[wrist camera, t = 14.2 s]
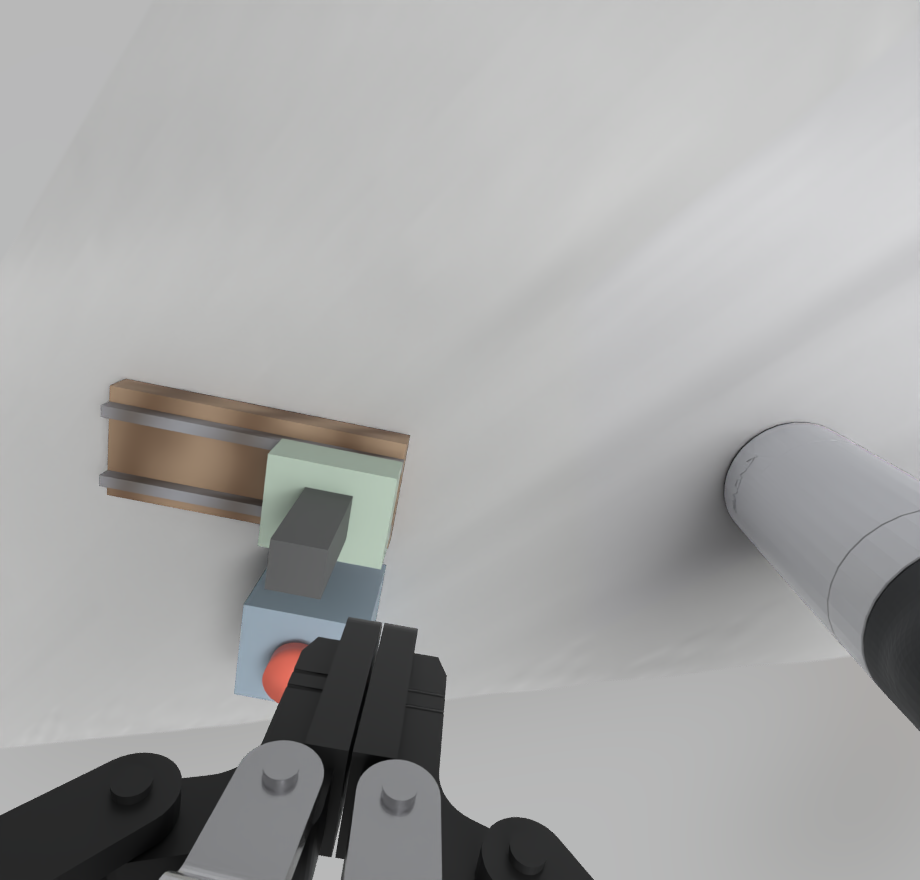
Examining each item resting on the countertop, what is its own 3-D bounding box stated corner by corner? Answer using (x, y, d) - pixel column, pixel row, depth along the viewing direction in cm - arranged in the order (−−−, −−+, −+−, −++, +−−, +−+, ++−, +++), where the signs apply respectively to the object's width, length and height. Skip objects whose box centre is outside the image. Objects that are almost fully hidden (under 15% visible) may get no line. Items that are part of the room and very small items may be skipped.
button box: (386, 565, 48) (368, 628, 40) (371, 642, 50) (352, 715, 43) (273, 543, 48) (235, 603, 40) (264, 622, 50) (226, 692, 42)
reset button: (329, 648, 40) (323, 664, 39) (322, 693, 42) (316, 711, 40) (273, 637, 40) (265, 653, 39) (267, 683, 41) (259, 701, 40)
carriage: (402, 462, 42) (380, 530, 32) (387, 547, 44) (362, 635, 34) (282, 438, 42) (224, 500, 32) (272, 525, 44) (214, 607, 34)
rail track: (409, 435, 45) (405, 449, 42) (391, 535, 47) (385, 555, 44) (125, 378, 44) (101, 389, 41) (122, 483, 47) (98, 500, 44)
